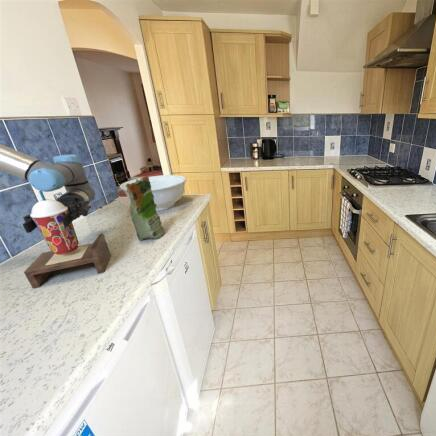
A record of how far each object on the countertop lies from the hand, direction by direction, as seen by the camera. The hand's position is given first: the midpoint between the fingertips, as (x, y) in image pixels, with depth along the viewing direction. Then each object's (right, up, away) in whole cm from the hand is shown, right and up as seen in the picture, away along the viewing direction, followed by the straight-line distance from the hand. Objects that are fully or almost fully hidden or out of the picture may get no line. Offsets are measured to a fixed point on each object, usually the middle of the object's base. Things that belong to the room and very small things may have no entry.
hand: (45, 225), depth 70 cm
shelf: (-1, -15, +12) cm, 19 cm away
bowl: (-3, +9, +67) cm, 68 cm away
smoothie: (-2, -9, +9) cm, 12 cm away
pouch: (+12, -6, +33) cm, 36 cm away
